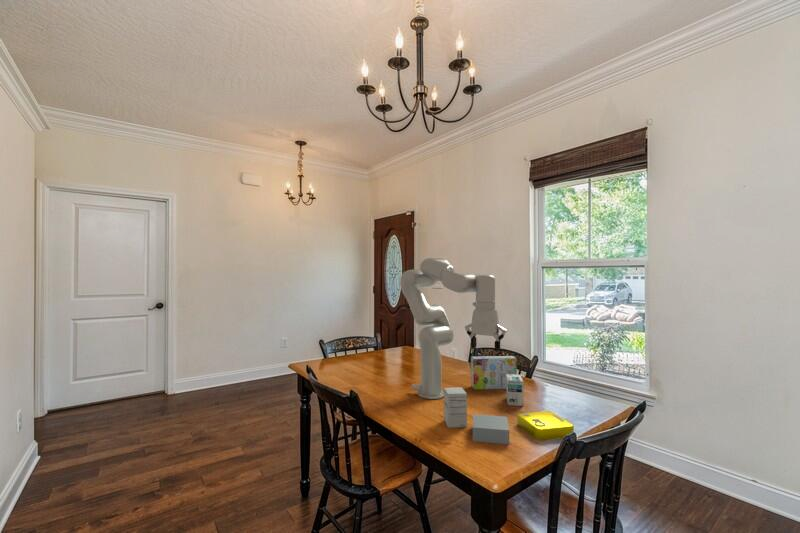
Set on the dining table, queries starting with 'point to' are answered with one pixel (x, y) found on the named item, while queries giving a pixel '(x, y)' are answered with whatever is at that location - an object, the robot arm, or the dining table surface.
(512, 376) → the light bulb box
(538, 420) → the element tile
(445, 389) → the supplement box
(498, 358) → the snack box
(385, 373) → the dining table surface
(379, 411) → the dining table surface
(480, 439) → the grey block
